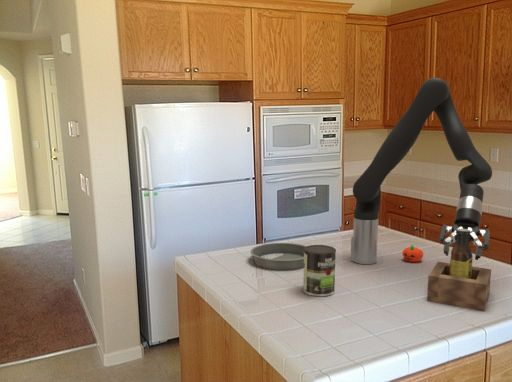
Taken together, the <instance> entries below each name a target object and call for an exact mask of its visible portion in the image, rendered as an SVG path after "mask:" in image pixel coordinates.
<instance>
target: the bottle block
mask: <svg viewBox="0 0 512 382" xmlns="http://www.w3.org/2000/svg"><path fill="white" fill-rule="evenodd" d="M449 275H450V262H444V261H437V262H436V264H435V265H434V266H433V268H432V270H431V271H430V272H429V274H428V276H427V277H428V278H427V291H426V292H427V295H426V301H427V302H434V303H439V304H444V305H445V304H446V305H450V306H454V307H459V308H465V309H466V308H467V309H470V310H476V311H482V312H485V311H486V307H487V303H488V300H489V297H490V291H491V277H492V276H491V275H492V269H491V268H484V267H479V266H472V274H471V279H467V278H461V277H455V276H449Z"/></svg>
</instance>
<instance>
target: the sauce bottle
mask: <svg viewBox="0 0 512 382" xmlns="http://www.w3.org/2000/svg"><path fill="white" fill-rule="evenodd" d="M469 236H470V230H468V229H456V241H455V244H454V246H453V247H452V248H451V251H450V253H451V254H450V262H449V263H450V275H449V276H455V277H461V278H467V279H471V274H472V267H473V253H472V250H471V246H470V242H469Z"/></svg>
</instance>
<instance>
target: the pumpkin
mask: <svg viewBox="0 0 512 382" xmlns="http://www.w3.org/2000/svg"><path fill="white" fill-rule="evenodd" d="M401 254H402V257H403V260H404V261H407V262H410V263H411V262H413V263H417V262H420V261H421V260H422V259H423V257H424V251H422V249H420V248H418V247H414V245H413V244H412V245H410V247H409V246H408V247H405V248H404V249H403V251H402V253H401Z"/></svg>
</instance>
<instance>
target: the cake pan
mask: <svg viewBox="0 0 512 382" xmlns="http://www.w3.org/2000/svg"><path fill="white" fill-rule="evenodd" d="M306 246H307V245H304V244H300V243H294V242H293V243H291V242H273V243H270V242H269V243H263V244H259V245H256V246H254V247H253V248H251V249H250V254H251V256H253V259H254V262H255V264H256V266H258V267H261V268H264V269H268V270H278V271H289V270H298V269H302V268H304V247H306ZM274 254H275V255H276V254H277V255H279V254H282V255H279V256H276V257H274V258H266V257H264V256H267V255H274Z"/></svg>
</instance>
